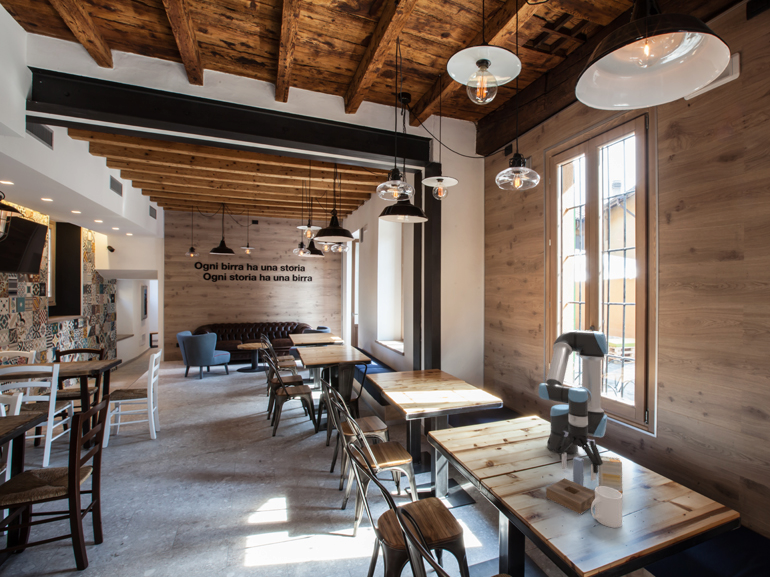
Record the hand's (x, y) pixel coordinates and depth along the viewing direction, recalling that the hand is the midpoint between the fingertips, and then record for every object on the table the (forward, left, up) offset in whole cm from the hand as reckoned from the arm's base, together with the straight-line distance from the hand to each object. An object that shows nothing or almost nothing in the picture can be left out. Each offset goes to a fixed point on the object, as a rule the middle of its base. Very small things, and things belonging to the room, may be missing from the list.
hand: (578, 473), depth 160 cm
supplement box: (-9, +9, -6) cm, 14 cm away
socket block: (+13, +4, -5) cm, 15 cm away
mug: (+17, +18, -6) cm, 26 cm away
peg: (0, 0, -5) cm, 5 cm away
